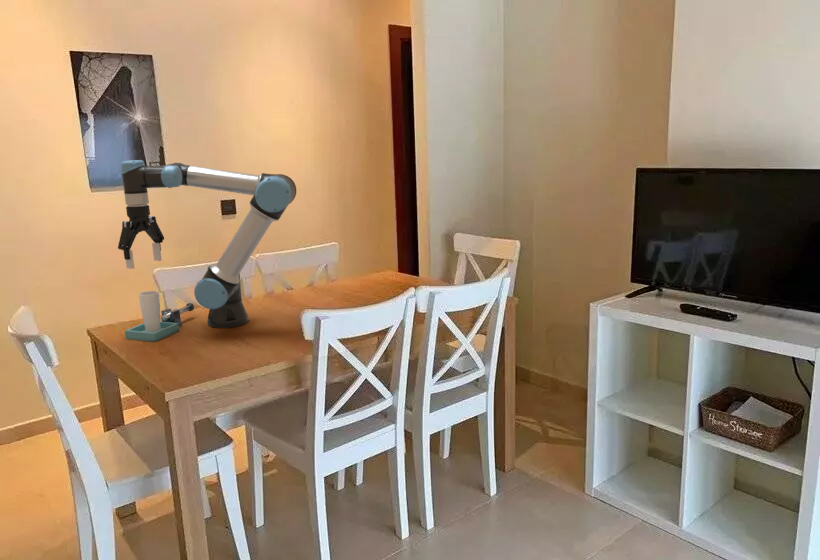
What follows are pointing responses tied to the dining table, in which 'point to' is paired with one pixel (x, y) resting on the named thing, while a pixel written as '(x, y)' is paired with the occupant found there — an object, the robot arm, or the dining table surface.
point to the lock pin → (187, 308)
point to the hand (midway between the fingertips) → (144, 264)
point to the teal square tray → (140, 333)
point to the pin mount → (172, 316)
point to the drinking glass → (150, 310)
